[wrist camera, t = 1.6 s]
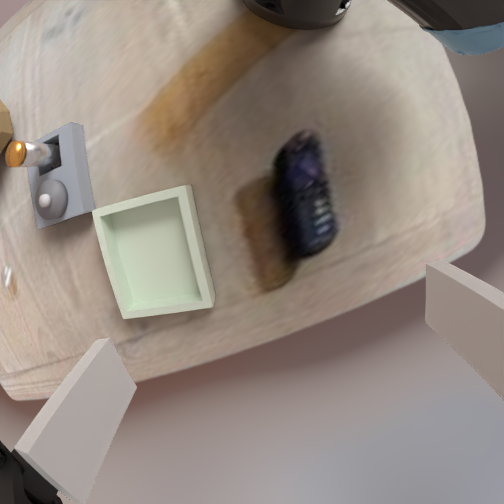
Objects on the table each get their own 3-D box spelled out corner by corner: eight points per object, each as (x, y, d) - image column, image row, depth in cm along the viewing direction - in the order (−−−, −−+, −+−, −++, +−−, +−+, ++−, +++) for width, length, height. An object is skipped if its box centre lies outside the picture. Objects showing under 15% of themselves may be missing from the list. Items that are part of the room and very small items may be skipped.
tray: (104, 207, 32) (91, 210, 29) (191, 184, 32) (185, 185, 28) (132, 307, 35) (123, 319, 32) (216, 295, 35) (213, 307, 32)
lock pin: (52, 150, 30) (4, 146, 20) (67, 142, 30) (19, 136, 20) (54, 169, 30) (6, 171, 21) (69, 162, 30) (21, 161, 20)
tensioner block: (38, 147, 29) (14, 146, 24) (83, 125, 29) (60, 119, 24) (50, 225, 32) (26, 232, 27) (95, 210, 32) (73, 215, 27)
